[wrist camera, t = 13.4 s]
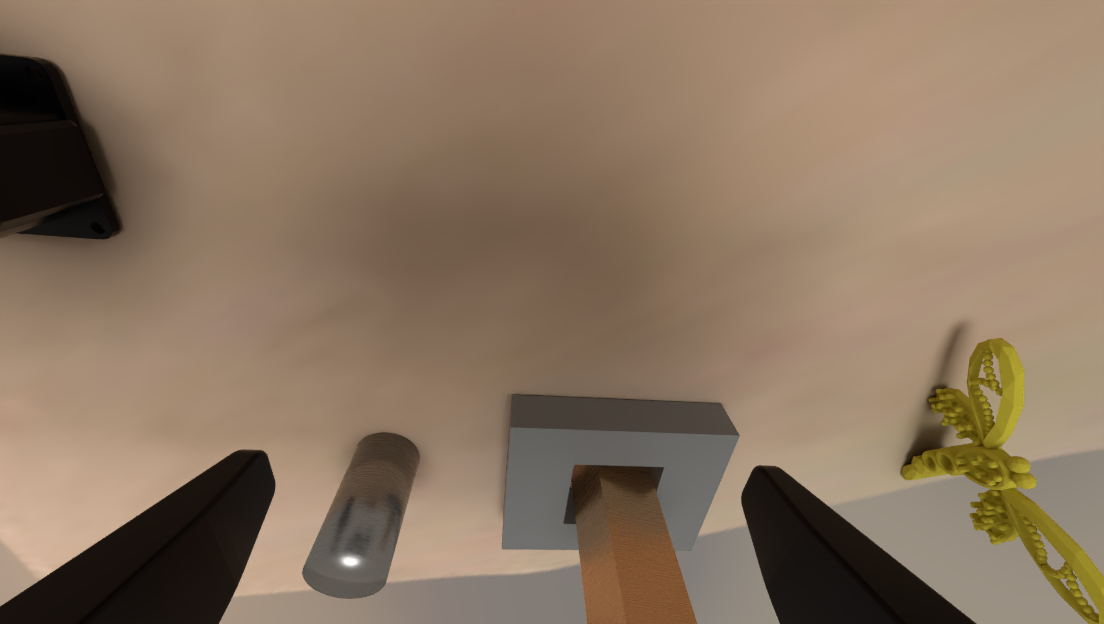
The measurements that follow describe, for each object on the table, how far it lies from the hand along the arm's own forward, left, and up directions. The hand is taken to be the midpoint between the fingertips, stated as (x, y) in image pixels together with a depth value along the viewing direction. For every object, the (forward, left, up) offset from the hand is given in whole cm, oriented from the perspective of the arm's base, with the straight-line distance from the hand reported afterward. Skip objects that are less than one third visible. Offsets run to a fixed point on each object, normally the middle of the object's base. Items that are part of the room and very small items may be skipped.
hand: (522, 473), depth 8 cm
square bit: (+6, -14, -13) cm, 20 cm away
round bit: (-7, -14, -13) cm, 20 cm away
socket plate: (+6, -14, -13) cm, 20 cm away
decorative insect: (+26, -8, -13) cm, 30 cm away
